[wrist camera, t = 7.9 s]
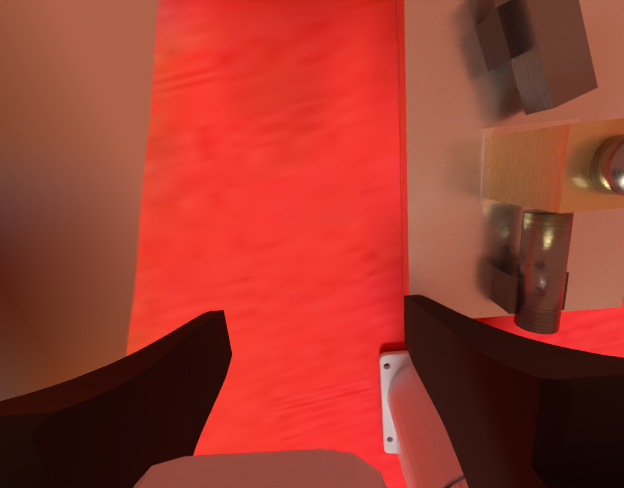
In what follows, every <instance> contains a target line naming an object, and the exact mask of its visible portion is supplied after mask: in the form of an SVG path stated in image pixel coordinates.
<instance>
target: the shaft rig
mask: <svg viewBox="0 0 624 488" xmlns="http://www.w3.org/2000/svg"><path fill="white" fill-rule="evenodd" d="M397 40H398V85H399V130H400V176H401V221H402V266H403V311H404V296H405V295H418V294H420V295H423V296H425V297H428V298H430V299H432V300H434V301H436V302H438V303H440V304H442V305H444V306H446V307H448V308H450V309H452V310H454V311H456V312H459V313H461V314H463V315H465V316H467V317H470V318H485V317H498V316H511V315H514V323H515V324H516V325H517V326H518V327H520V328H522V329H524V330H526V331H529V332H533V333H538V334H553V333H556V332H558V331H559V325H560V318H561V312H563V311H576V310H589V309H602V308H615V307H621V306H622V301H623V295H624V208H615V209H604V210H592V211H581V212H569V213H555V212H550V211H544V210H539V209H534V208H529V207H524V206H519V205H514V204H509V203H504V202H499V201H494V200H489V199H488V197H489V180H490V163H491V146H492V137H493V136H499V135H505V134H511V133H517V132H523V131H529V130H535V129H541V128H547V127H552V126H558V125H564V124H570V123H580V122H590V121H600V120H610V119H620V118H624V0H397Z"/></svg>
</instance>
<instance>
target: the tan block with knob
mask: <svg viewBox="0 0 624 488" xmlns="http://www.w3.org/2000/svg"><path fill="white" fill-rule="evenodd" d="M488 199H489V200H494V201H499V202H504V203H509V204H514V205H519V206H524V207H529V208H534V209H539V210H544V211H550V212H555V213H569V212H581V211H592V210H604V209H615V208H624V118H620V119H610V120H600V121H590V122H580V123H570V124H564V125H558V126H552V127H547V128H541V129H535V130H529V131H523V132H517V133H511V134H505V135H499V136H493V137H492V146H491V163H490V180H489V197H488Z"/></svg>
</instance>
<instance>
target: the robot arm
mask: <svg viewBox="0 0 624 488" xmlns="http://www.w3.org/2000/svg"><path fill="white" fill-rule="evenodd" d="M404 328H405V344H406V347H407V350H406V351H393V352H384V353H382V354H381V355H380V356H379V365H380V386H381V407H382V428H383V446H384V450H385V452H387V453H398V457H399V461H400V464H401V468H402V472H403V475H404V479H405V483H406V486H407V488H624V358H622V357H615V356H608V355H601V354H596V353H590V352H585V351H580V350H574V349H569V348H565V347H560V346H556V345H552V344H548V343H544V342H540V341H536V340H532V339H528V338H525V337H522V336H518V335H515V334H512V333H509V332H506V331H503V330H500V329H497V328H494V327H492V326H489V325H486V324H484V323H481V322H479V321H477V320H474V319H472V318H470V317H467V316H465V315H463V314H461V313H459V312H456V311H454V310H452V309H450V308H448V307H446V306H444V305H442V304H440V303H438V302H436V301H434V300H432V299H430V298H428V297H425V296H423V295H420V294H418V295H405V296H404ZM231 357H232V351H231V346H230V341H229V335H228V330H227V325H226V320H225V315H224V310H220V311H209V312H206V313H204V314H202V315H200V316H198V317H196V318H195V319H193V320H191V321H190V322H188V323H186V324H184V325H183V326H181V327H179V328H178V329H176V330H174V331H173V332H171V333H169V334H168V335H166V336H164V337H162V338H161V339H159V340H157V341H155V342H154V343H152V344H150V345H148V346H146V347H145V348H143V349H141V350H139V351H137V352H135V353H133V354H131V355H129V356H127V357H125V358H122V359H120V360H118V361H116V362H114V363H111V364H109V365H107V366H104V367H102V368H99V369H97V370H94V371H92V372H89V373H87V374H84V375H82V376H79V377H77V378H74V379H71V380H68V381H66V382H63V383H60V384H57V385H54V386H51V387H48V388H45V389H41V390H38V391H35V392H32V393H28V394H25V395H22V396H18V397H14V398H11V399H7V400H3V401H0V488H387V487H386V485H385V482H384V480H383V477H382V475H381V473H380V471H378V470H377V469H376V468H374V467H373V466H371V465H370V464H368V463H367V462H365V461H364V460H362V459H361V458H359V457H358V456H356V455H355V454H353V453H349V452H342V451H335V450H329V449H304V450H287V451H269V452H252V453H234V454H217V455H199V456H193V454H194V451H195V448H196V445H197V442H198V440H199V437H200V435H201V432H202V430H203V428H204V425H205V423H206V421H207V419H208V416H209V414H210V412H211V410H212V407H213V405H214V403H215V401H216V399H217V396H218V394H219V392H220V389H221V387H222V385H223V383H224V380H225V378H226V375H227V371H228V368H229V364H230V361H231ZM386 363H388V364H389V365H387V366H384V364H386ZM388 437H390V438H388Z"/></svg>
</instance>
